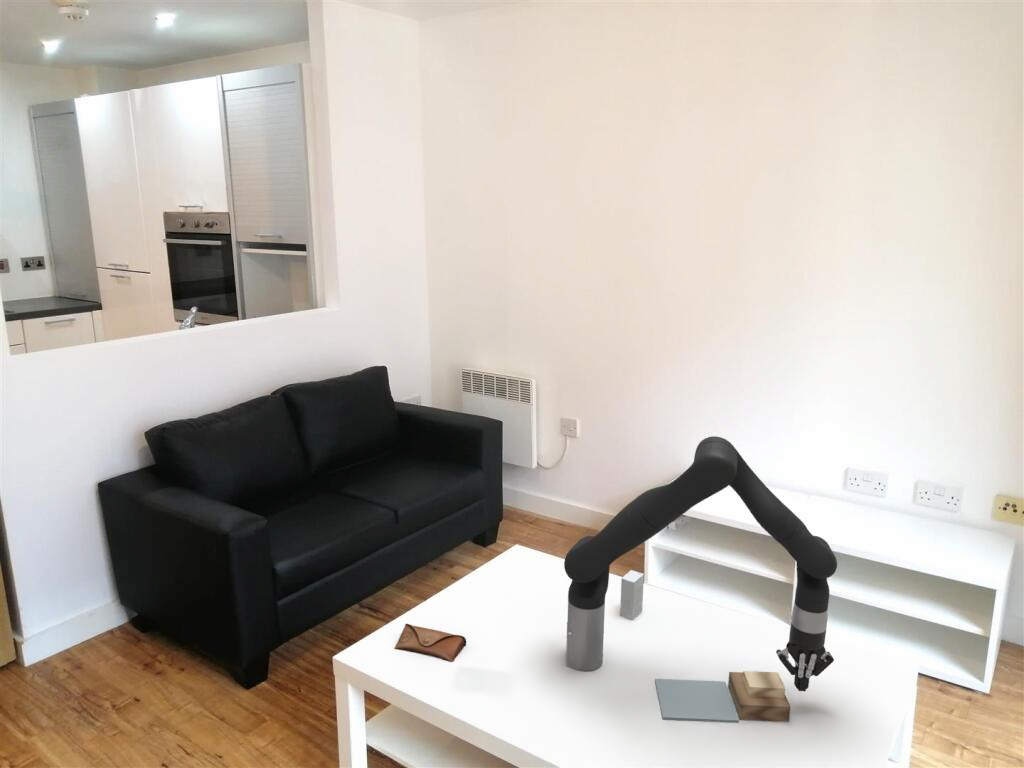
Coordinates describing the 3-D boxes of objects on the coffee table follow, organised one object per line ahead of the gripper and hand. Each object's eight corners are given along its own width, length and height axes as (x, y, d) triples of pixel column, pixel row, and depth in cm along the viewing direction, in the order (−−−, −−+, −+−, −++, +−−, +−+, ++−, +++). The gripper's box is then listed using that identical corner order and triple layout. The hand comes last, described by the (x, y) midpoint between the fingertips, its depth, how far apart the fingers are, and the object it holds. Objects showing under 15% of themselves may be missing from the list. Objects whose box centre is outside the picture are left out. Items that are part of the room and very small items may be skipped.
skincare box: (629, 606, 217) (631, 569, 214) (642, 611, 214) (644, 573, 211) (619, 616, 212) (621, 577, 209) (632, 621, 210) (634, 582, 207)
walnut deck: (739, 719, 170) (741, 704, 169) (728, 686, 182) (729, 671, 181) (788, 722, 170) (790, 706, 169) (774, 688, 181) (775, 673, 180)
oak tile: (749, 696, 172) (749, 687, 172) (742, 680, 178) (743, 670, 177) (784, 698, 172) (785, 688, 171) (777, 681, 177) (778, 672, 177)
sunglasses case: (390, 649, 196) (396, 622, 198) (401, 648, 202) (407, 622, 204) (454, 663, 190) (459, 635, 192) (463, 661, 197) (468, 635, 199)
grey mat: (662, 719, 170) (662, 717, 170) (654, 680, 184) (655, 678, 184) (738, 722, 169) (738, 720, 169) (725, 683, 183) (725, 681, 183)
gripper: (784, 631, 167) (776, 698, 171) (844, 633, 166) (835, 700, 170) (774, 612, 174) (767, 677, 178) (832, 615, 173) (824, 680, 178)
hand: (800, 688), depth 174 cm, fingers closed
